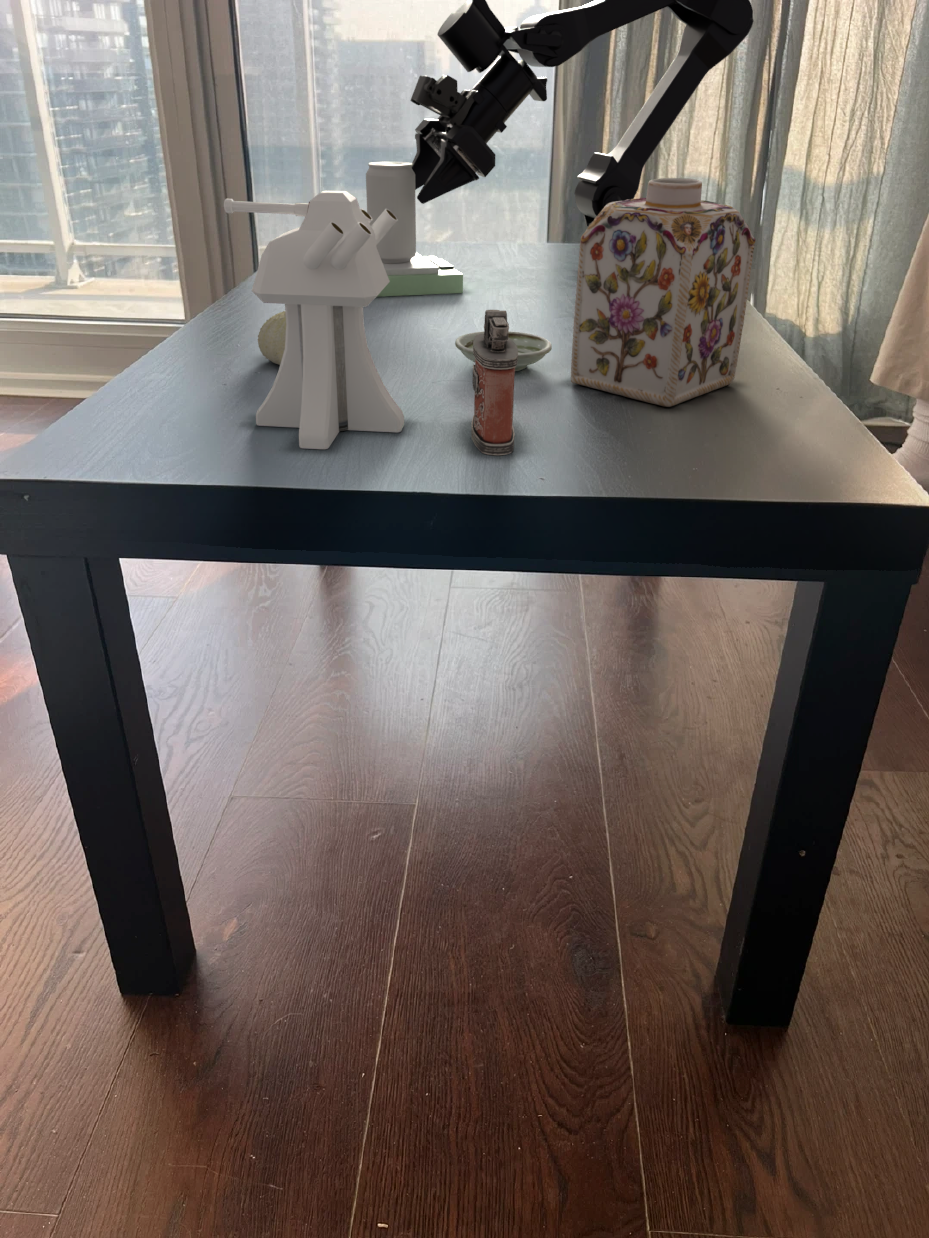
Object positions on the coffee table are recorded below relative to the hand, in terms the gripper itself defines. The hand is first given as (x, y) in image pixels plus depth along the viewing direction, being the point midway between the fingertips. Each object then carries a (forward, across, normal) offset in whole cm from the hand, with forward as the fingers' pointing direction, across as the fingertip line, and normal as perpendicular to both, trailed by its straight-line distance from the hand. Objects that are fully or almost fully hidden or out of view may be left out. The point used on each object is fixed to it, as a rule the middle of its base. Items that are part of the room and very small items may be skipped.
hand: (410, 197), depth 128 cm
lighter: (+15, +63, +1) cm, 64 cm away
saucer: (+9, +42, +7) cm, 44 cm away
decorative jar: (+1, +52, +15) cm, 54 cm away
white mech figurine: (+24, +56, -8) cm, 61 cm away
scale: (+10, 0, +6) cm, 11 cm away
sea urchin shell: (+22, +36, -6) cm, 42 cm away
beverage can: (+8, 0, +4) cm, 8 cm away
